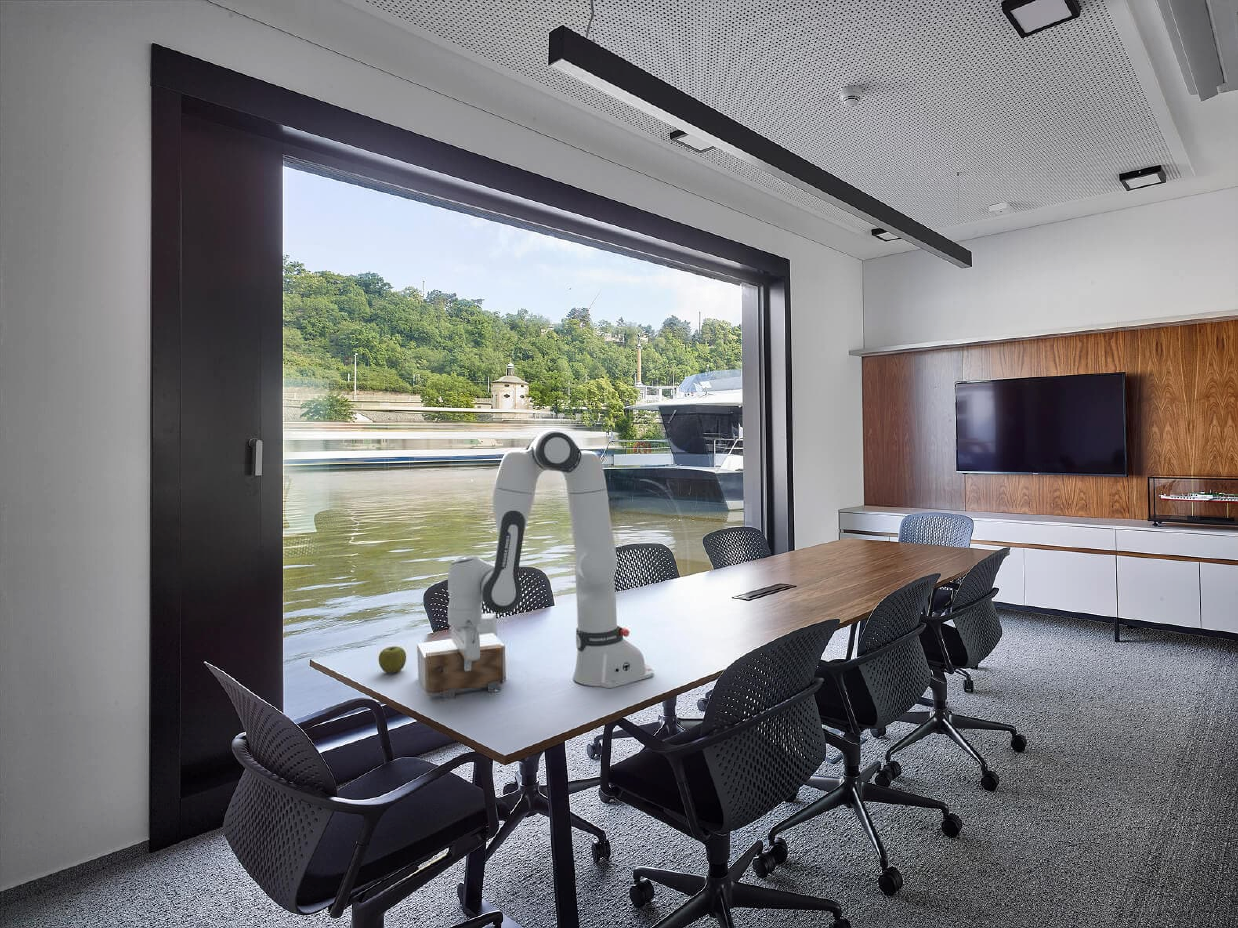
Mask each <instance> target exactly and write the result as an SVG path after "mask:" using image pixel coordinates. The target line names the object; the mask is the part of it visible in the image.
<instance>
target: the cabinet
mask: <svg viewBox="0 0 1238 928" xmlns="http://www.w3.org/2000/svg"><path fill="white" fill-rule="evenodd" d="M479 638H480V647H482V646H490V645H498V644H500V645H501V646H502V647H503V680H506V681H507V670H506V645H505V644H504V643H503V642H502V641H501V639H499V638H498V636H497V637H496V636H495V635H494V633H489V634H482V635H479ZM457 649H458V648H457V647H456V646H455V644H454V643H453V642H452V638H447V639H441V640H434V641H426V642H420V643H419V642H418V643H416V653H417V675H418V677H417V679H418V680H419V682H421V683H420V685H421V688H422V689H423V691H424V693H426V694H425V695H429V694H428V693H427V691H426V653H432V652H440V651H448V650H457ZM500 687H501V684H499V681H494V682H488V686H487V692H488V693H492V692H491V691H494V692H496V691H495V690H499V691H500V690H501V689H500ZM455 691H456V690H455V689H454V688H453V689H447V690H443V692H442V700H443V701H446V700H445V699H448V700H453V699H452V698H454V699H456V697H455V696H456V693H455Z"/></svg>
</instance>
